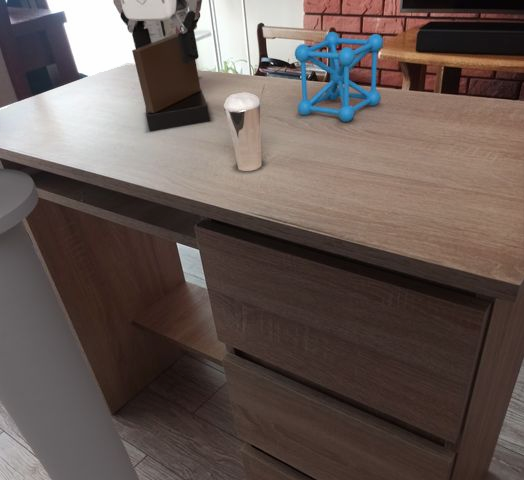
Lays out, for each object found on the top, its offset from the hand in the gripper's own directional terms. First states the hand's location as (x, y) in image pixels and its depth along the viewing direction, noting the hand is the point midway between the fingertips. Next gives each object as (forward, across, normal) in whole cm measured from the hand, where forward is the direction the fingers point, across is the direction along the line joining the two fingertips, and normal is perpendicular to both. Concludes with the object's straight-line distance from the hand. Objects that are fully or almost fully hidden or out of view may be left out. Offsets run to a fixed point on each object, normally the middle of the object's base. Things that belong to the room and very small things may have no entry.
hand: (168, 59), depth 83 cm
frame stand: (+9, 0, 0) cm, 9 cm away
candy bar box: (+9, -13, +14) cm, 21 cm away
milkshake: (+9, +24, -13) cm, 29 cm away
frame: (+6, 0, 0) cm, 6 cm away
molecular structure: (+9, +25, +10) cm, 29 cm away
